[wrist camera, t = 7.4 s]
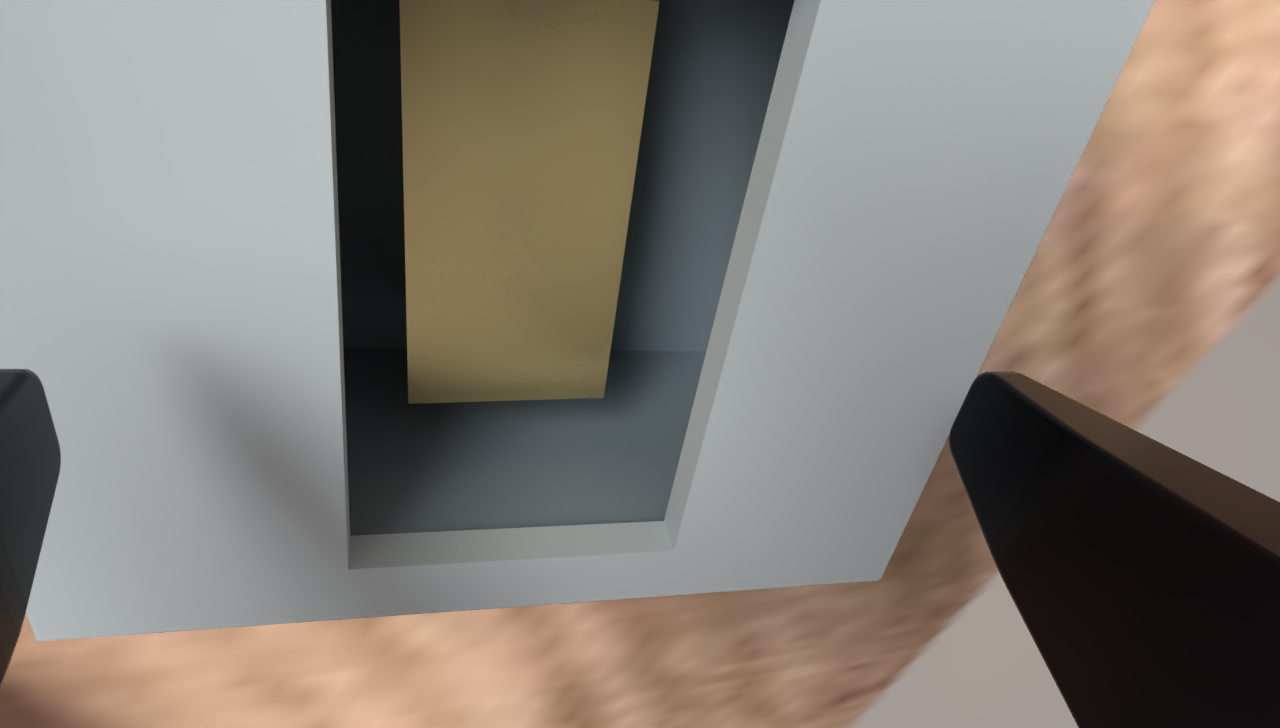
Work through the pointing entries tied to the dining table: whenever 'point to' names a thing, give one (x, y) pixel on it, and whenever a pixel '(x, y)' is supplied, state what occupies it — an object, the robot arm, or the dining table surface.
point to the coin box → (524, 429)
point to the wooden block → (518, 190)
